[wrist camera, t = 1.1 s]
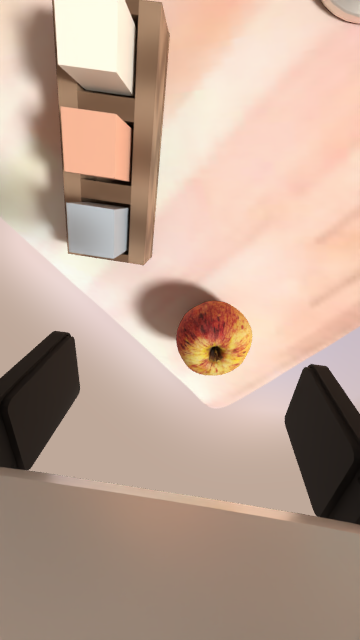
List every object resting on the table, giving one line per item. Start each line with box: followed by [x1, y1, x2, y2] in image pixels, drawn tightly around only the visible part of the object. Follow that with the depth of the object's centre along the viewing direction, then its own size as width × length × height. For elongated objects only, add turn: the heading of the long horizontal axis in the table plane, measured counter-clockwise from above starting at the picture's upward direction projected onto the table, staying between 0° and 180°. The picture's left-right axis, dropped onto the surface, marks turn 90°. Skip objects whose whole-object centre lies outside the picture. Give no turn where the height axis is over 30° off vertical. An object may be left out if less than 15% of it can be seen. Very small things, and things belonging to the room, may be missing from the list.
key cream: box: [54, 0, 136, 96], centre depth 20 cm, size 4×4×5 cm
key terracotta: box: [60, 106, 132, 182], centre depth 23 cm, size 4×4×5 cm
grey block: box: [66, 202, 129, 259], centre depth 26 cm, size 4×4×5 cm
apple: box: [176, 301, 252, 375], centre depth 32 cm, size 9×9×10 cm
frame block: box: [52, 0, 170, 265], centre depth 27 cm, size 21×9×4 cm, turn 173°
